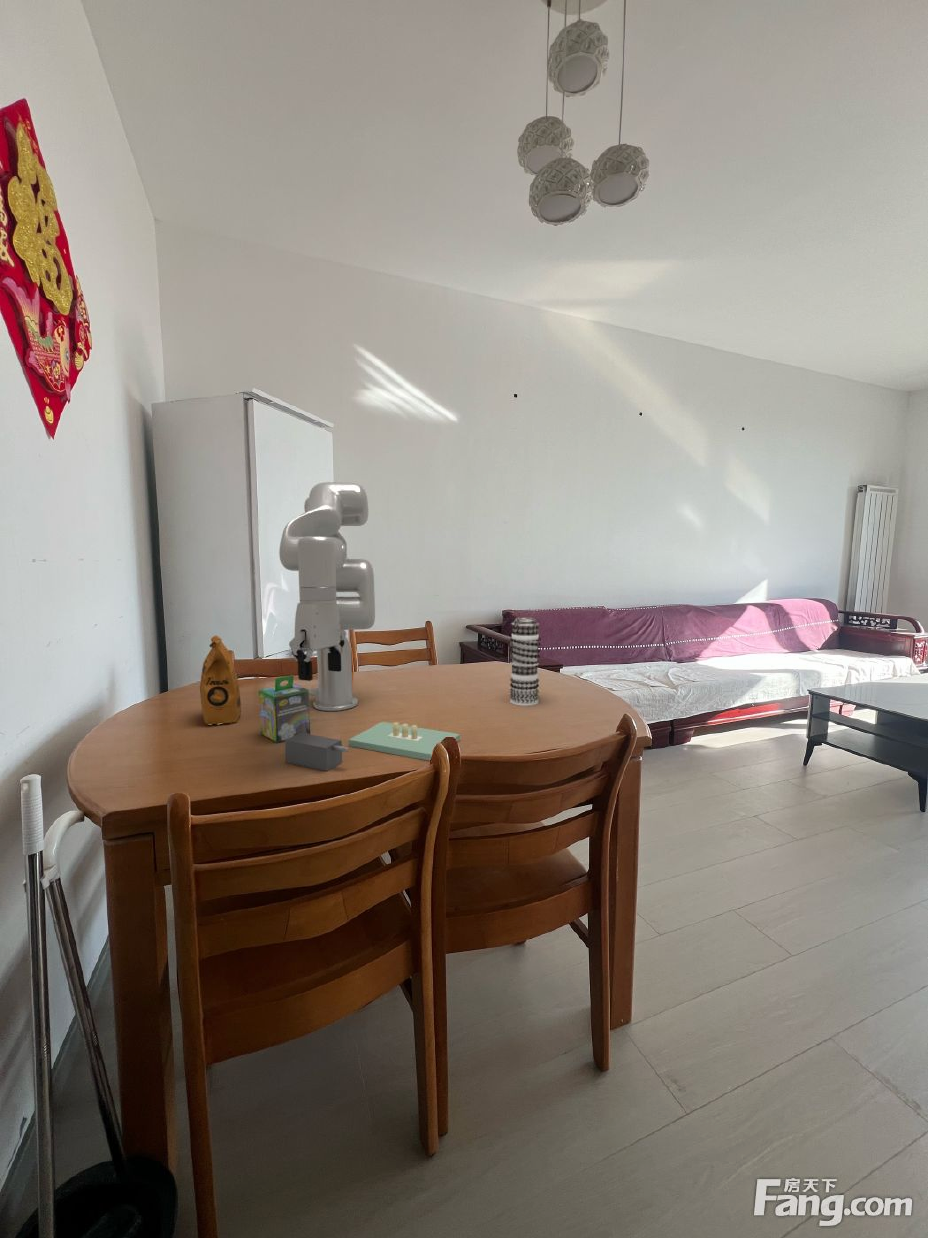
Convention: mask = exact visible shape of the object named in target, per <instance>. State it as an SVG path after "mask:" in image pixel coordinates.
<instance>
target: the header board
mask: <svg viewBox="0 0 928 1238" xmlns="http://www.w3.org/2000/svg"><path fill="white" fill-rule="evenodd" d="M445 737H454V738H456V739H457V740H458V742H460V741H461V734H459V733H454V732H449V731H441V730H438V729H437V730H435V729H429V728H423V727H418V725H417V724H413V725H409V724H408V723H402V724H400V722H399V721H398V722H395V721H394V722H393V723H390V722H385V721H380V722H379V723H377V724H375V725H374V726H372V727H370V728H368V729H367V730H364V731H362V732H360V733H359V734H356V735H354V736H353V737H351V738H349V739H348V746H349V747H353V748H358V749H363V750H369V751H375V752H380V753H386V754H391V755H395V756H396V755H397V756H401V757H406V758H407V757H408V758H411V759H418V760H423V761H429V762H431V761H430V758H431V755H432V751H433V749H434V747H435V746H436V744H437V743H439V742H441V741H442V740H443V739H444V738H445Z"/></svg>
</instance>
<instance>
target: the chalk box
mask: <svg viewBox="0 0 928 1238" xmlns="http://www.w3.org/2000/svg"><path fill="white" fill-rule="evenodd" d="M285 681H286V682H287V683H283V684H281V683H282V682H285ZM274 683H275V684H274V685H273V686H270V687H266V688H262V689H258V691H257V692H258V707H259V721H260V734H261V735H263V736H264V737H266V738H267V739H269V740H272V741H273V742H274V743H276V744H279V743H281V742H285V740H286V739H289V738H291V737H293V736H295V735H297V734H299V733H305V734H311V721H310V720H311V719H310V716H311V715H310V695H309V692H310V691H309V689H308V688H306V687H303V686H301V685H297V684H295V683H294V675H292V674H291V675H286V676H281V677H277V678H275V682H274Z"/></svg>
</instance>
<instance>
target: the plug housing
mask: <svg viewBox="0 0 928 1238" xmlns="http://www.w3.org/2000/svg"><path fill="white" fill-rule="evenodd" d="M284 747H285V748H284V749H285V750H284V751H285V763H287V764H290V765H296V766H300V765H301V766H300V767H305V766H306V768H310V769H315V770H320V771H323V772H324V771H325V772H328V771H330V770H332V769H333V768H335V767H337V766H339V765H340V764H342V763H343V752H344V753H347V752H349V748H348V747H347V746H343V743H342V739H336V738H333V737H332V738H331V737H326V736H320V735H314V734H311V733H310V734H305V733H299V734H297V735H295V736H293V737H291V738H289V739H286V740H285V741H284Z"/></svg>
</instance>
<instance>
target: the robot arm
mask: <svg viewBox="0 0 928 1238" xmlns="http://www.w3.org/2000/svg"><path fill="white" fill-rule="evenodd" d="M303 509H304V512H303V513H302V514H300V515H298V516H297V517H295V518H293V519H291V520H290V521H289V522H288V523H287V524H286V525H285V527H284V528H283V531H282V534H281V539H280V544H279V550H278V552H279V553H278V554H279V561H280V563H281V565H282V566H283V568H285V569H286V570H289V571H293V572H298V587H299V589H298V591H299V592H298V594H299V603H297V605H296V610H295V618H294V637H293V638H292V639H291V640H290V641H289V642H288V646H289V648H290V650H291V654H292V655H293V656H294V659H295V661H296V662H297V673H298V675H297V676H298V677H297V679H298V680H300V681H307V682H310V681H313V676H314V675H313V674H314V673H313V661H310V660H311V659H312V656H313V654H314V652H316V660H317V661H316V663H317V664H316V665H317V684H318V685H317V686H318V687H312V688H311V690H310V691H309V697H315V700H313V705H312V706H313V708H315V709H316V710H319V711H326V712H336V711H344V710H349V709H351V708H355V707H356V706H358V704H359V700H358V698H357V697H355V696H353V679H352V676H353V675H352V646H351V643H350V641H349V639H348V638H347V637H346V636H347V632H346V631H348V630H349V631H351V630H353V631H354V630H357V631H359V630H369V629H372V627H373V626H374V625H375V621H376V604H375V603H376V601H375V599H376V598H375V578H374V577H375V576H374V569H373V566H372V564H371V563H370V561H368V559H367V560H366V559H363V558H348V551H347V550H348V548H347V547H348V545H347V541H346V539H345V538H344V536H343V535H342V534H341V533H340V529H341V527H361V526H364V525H365V524H366V523H367V521H368V518H369V502H368V496H367V493H366V490H365V489H364V488H363V486H362V485H361V484H360V483H357V482H356V483H355V482H330V481H329V482H328V481H327V482H326V481H325V482H319V483H317V484H316V485H314V486H313V487H312V488H311V490H310V491H309V495H308V497H307V498H306V499H305V501H304V508H303ZM337 593H357V594H358V596H337Z"/></svg>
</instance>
